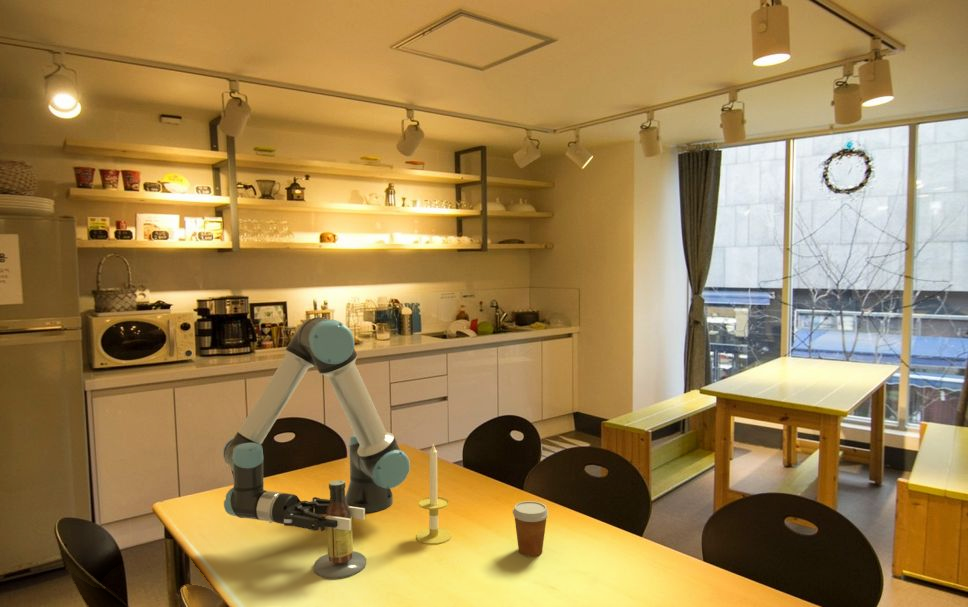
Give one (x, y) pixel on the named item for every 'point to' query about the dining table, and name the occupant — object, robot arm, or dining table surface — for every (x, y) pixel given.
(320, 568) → the disc
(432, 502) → the candle
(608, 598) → the dining table surface
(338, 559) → the sauce bottle
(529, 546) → the disposable coffee cup
